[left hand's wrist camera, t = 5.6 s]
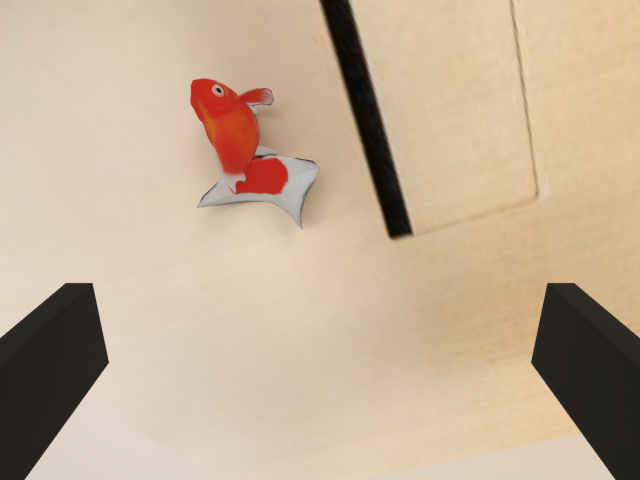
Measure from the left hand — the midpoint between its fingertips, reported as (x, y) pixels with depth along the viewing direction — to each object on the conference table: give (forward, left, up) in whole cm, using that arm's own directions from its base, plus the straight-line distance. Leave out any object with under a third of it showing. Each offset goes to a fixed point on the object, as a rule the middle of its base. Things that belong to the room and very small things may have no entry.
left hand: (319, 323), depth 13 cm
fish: (-5, -2, -32) cm, 32 cm away
